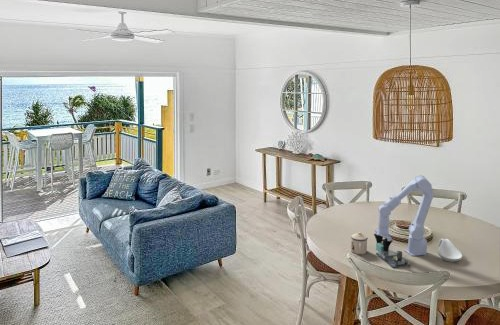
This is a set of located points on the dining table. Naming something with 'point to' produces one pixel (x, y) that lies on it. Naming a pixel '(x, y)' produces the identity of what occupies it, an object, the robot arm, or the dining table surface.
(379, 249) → the block
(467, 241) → the dining table surface
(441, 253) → the spoon rest
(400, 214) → the dining table surface
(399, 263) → the ram lever
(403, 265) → the press base
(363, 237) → the teacup with lid
